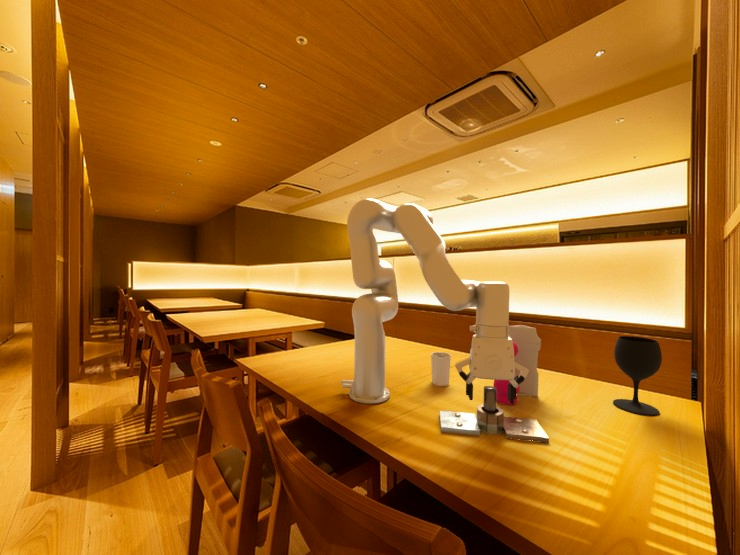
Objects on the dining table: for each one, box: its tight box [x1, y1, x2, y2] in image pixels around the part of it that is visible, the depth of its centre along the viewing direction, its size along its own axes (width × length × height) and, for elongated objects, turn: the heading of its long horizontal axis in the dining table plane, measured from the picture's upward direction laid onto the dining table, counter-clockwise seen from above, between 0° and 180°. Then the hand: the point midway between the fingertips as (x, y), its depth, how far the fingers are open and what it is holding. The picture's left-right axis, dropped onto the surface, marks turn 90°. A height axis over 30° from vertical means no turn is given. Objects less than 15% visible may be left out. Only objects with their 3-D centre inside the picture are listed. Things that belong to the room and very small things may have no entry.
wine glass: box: [612, 335, 663, 417], centre depth 90 cm, size 10×10×20 cm
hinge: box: [439, 403, 550, 444], centre depth 78 cm, size 24×9×5 cm, turn 79°
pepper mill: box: [493, 335, 520, 406], centre depth 94 cm, size 7×7×20 cm
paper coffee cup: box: [430, 351, 452, 387], centre depth 108 cm, size 7×7×10 cm
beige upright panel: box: [508, 324, 542, 398], centre depth 99 cm, size 11×4×22 cm, turn 62°
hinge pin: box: [482, 385, 497, 413], centre depth 78 cm, size 3×3×10 cm
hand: (490, 399), depth 77 cm, fingers open, 9 cm apart
